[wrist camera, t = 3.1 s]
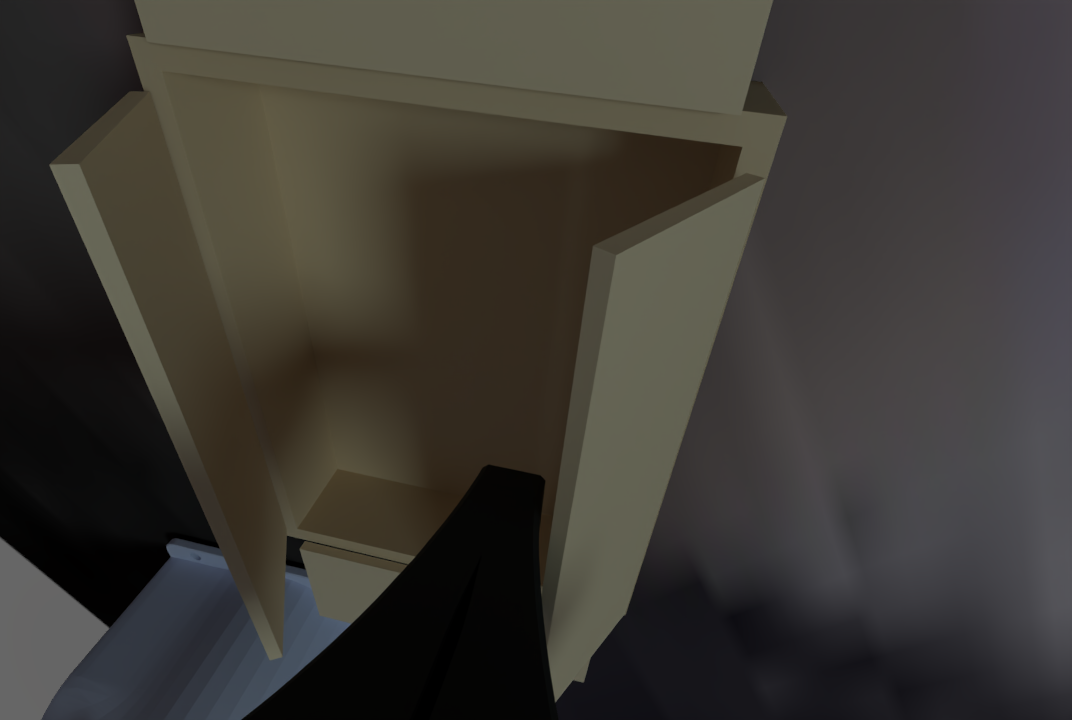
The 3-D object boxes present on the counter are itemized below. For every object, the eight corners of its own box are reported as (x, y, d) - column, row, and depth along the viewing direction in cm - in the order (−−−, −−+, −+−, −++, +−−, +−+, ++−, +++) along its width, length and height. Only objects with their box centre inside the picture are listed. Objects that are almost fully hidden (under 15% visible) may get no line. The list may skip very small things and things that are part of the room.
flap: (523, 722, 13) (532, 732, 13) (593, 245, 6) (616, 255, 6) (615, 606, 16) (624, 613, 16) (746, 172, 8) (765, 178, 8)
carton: (346, 534, 23) (301, 611, 20) (179, -251, 9) (-16, -336, 7) (613, 597, 21) (604, 687, 19) (848, -216, 8) (930, -304, 5)
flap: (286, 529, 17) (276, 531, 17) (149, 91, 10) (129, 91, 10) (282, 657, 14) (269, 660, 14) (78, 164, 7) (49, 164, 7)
